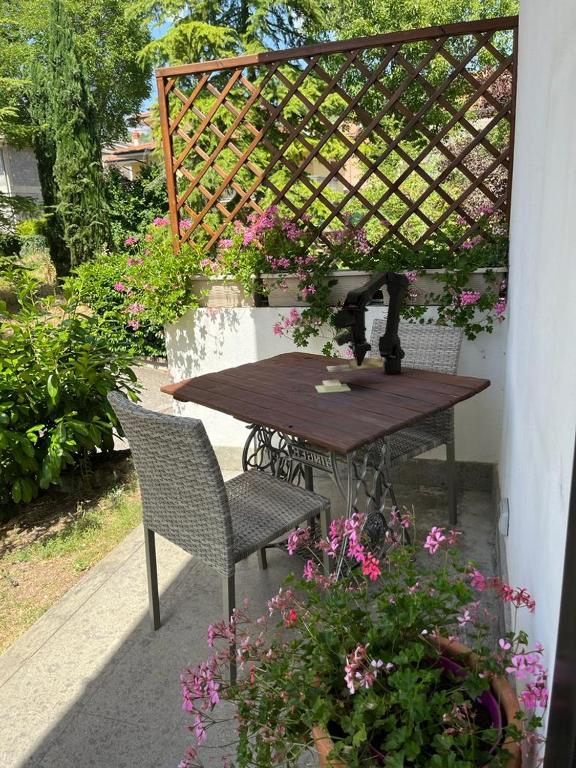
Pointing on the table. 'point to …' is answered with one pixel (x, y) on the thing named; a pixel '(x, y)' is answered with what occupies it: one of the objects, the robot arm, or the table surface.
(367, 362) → the turner
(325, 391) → the mat
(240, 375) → the table surface
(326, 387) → the tile
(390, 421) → the table surface
